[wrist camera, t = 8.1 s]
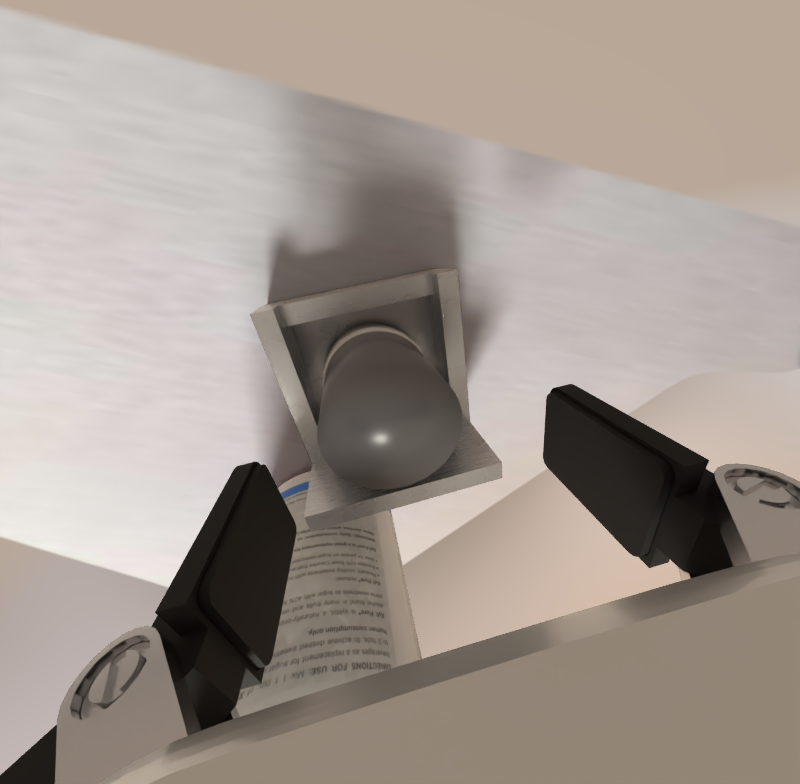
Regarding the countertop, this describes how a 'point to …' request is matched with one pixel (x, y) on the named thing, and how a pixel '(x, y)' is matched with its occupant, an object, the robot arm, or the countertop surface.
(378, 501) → the open square box
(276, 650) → the supplement tub
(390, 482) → the grey rounded-end cylinder
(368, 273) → the countertop surface
